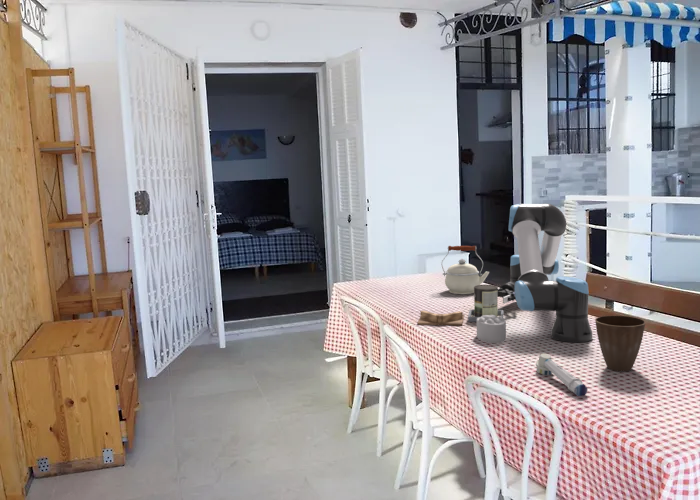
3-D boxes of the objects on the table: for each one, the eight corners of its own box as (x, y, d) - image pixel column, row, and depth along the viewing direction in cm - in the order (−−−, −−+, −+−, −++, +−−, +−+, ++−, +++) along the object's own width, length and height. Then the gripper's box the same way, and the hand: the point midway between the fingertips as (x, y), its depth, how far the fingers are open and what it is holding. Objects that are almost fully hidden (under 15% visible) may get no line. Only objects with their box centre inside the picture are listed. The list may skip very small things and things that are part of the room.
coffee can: (470, 319, 276) (470, 288, 274) (478, 314, 285) (478, 283, 283) (493, 321, 271) (493, 289, 269) (501, 316, 279) (500, 285, 278)
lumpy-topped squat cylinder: (499, 333, 252) (499, 312, 251) (510, 342, 239) (510, 320, 238) (474, 335, 251) (474, 313, 250) (483, 343, 238) (483, 321, 237)
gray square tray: (503, 322, 269) (503, 318, 268) (467, 321, 272) (467, 317, 272) (503, 314, 283) (503, 310, 283) (469, 313, 287) (469, 309, 286)
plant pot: (586, 369, 206) (587, 321, 204) (605, 358, 216) (606, 312, 214) (632, 378, 195) (634, 328, 193) (651, 367, 206) (652, 319, 203)
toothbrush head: (573, 385, 181) (533, 349, 205) (572, 405, 183) (532, 368, 207) (590, 383, 182) (548, 348, 206) (588, 404, 184) (547, 366, 208)
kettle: (440, 295, 330) (439, 248, 326) (443, 288, 347) (442, 243, 344) (489, 295, 324) (488, 248, 320) (489, 288, 341) (489, 243, 338)
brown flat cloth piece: (422, 315, 286) (421, 307, 285) (464, 316, 281) (464, 307, 281) (417, 324, 270) (417, 315, 269) (462, 325, 265) (462, 316, 265)
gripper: (535, 301, 289) (515, 310, 273) (485, 295, 305) (464, 304, 288) (535, 285, 288) (515, 293, 272) (485, 280, 304) (464, 287, 287)
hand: (489, 298), depth 280 cm, fingers open, 13 cm apart
